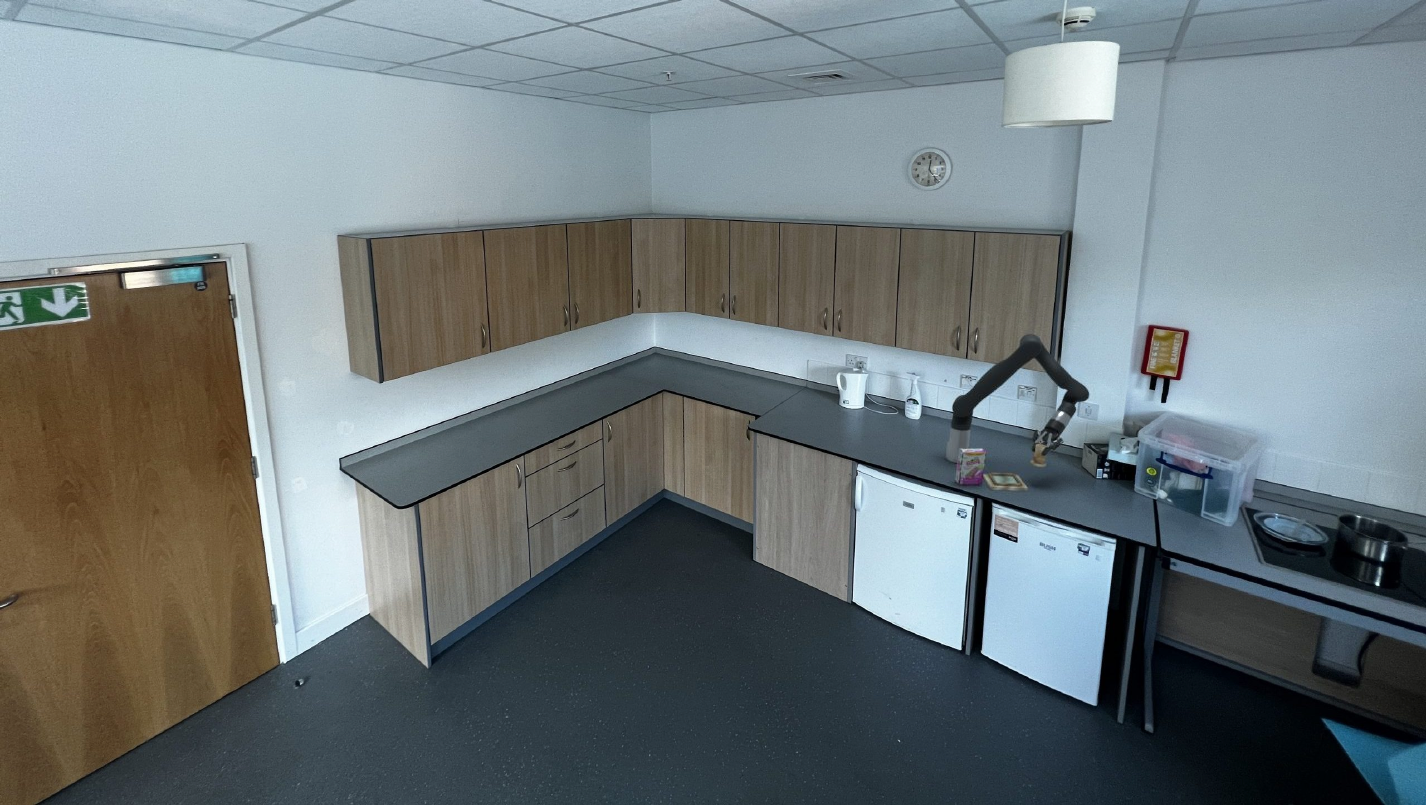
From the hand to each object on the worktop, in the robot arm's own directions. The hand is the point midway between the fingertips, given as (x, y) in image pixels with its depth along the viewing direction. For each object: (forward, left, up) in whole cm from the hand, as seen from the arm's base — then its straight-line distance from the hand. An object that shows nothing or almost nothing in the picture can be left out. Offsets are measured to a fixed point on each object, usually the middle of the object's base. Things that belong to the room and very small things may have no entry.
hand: (1037, 452), depth 321 cm
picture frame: (-8, -9, -16) cm, 21 cm away
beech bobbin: (0, +2, -6) cm, 6 cm away
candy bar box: (-18, -22, -17) cm, 33 cm away
